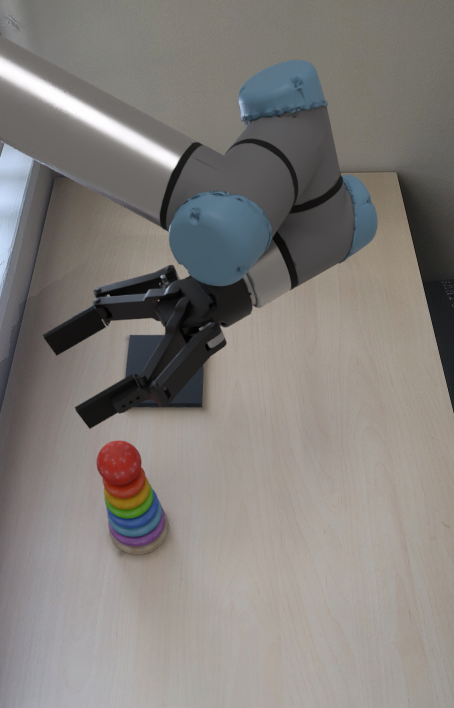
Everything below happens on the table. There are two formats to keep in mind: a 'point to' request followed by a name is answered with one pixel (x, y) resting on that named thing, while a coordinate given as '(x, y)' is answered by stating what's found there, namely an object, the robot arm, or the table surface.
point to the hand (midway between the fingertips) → (64, 380)
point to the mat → (187, 397)
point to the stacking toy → (130, 500)
